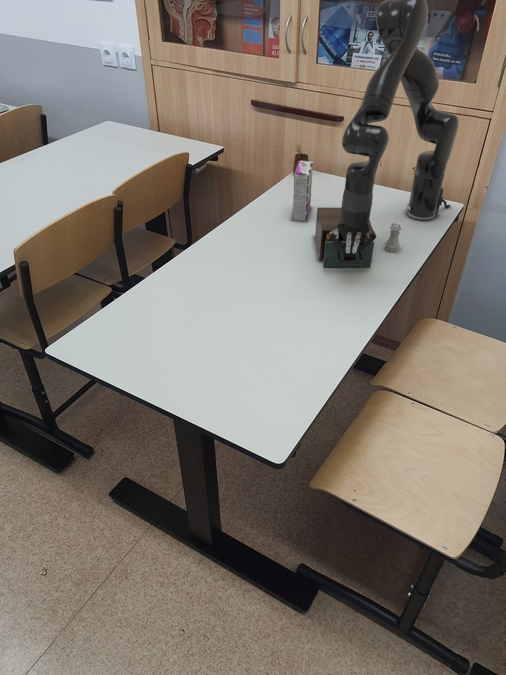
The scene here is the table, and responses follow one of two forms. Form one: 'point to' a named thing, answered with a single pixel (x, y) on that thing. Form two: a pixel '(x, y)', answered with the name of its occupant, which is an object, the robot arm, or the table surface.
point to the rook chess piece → (393, 238)
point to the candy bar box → (302, 190)
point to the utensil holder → (299, 157)
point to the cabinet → (327, 226)
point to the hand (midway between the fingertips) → (348, 263)
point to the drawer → (336, 257)
